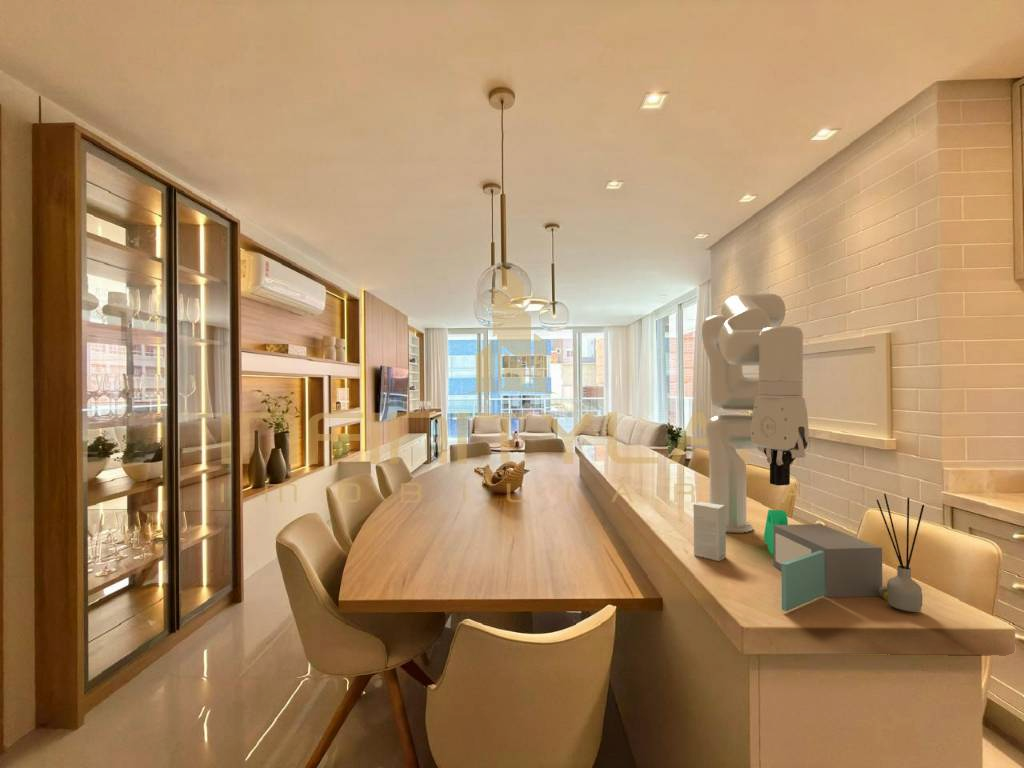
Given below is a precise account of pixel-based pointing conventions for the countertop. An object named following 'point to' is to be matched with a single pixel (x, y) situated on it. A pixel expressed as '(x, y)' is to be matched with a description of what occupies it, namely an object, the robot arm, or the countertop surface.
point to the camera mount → (772, 519)
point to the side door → (802, 580)
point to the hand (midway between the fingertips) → (779, 484)
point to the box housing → (833, 558)
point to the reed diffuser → (902, 574)
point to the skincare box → (709, 531)
